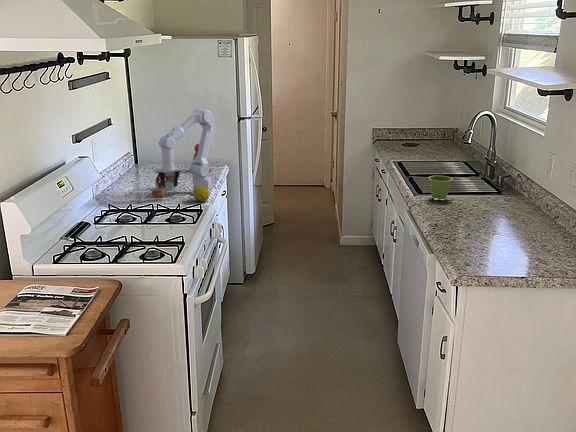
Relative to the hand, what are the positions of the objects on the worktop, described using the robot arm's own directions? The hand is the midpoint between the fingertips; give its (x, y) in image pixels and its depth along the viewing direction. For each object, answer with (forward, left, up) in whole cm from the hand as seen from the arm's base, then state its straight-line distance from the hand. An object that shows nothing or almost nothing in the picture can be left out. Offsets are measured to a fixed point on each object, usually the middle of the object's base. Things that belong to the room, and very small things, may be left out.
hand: (170, 186), depth 290 cm
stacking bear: (+5, -65, -7) cm, 66 cm away
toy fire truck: (+10, -21, -7) cm, 24 cm away
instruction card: (-3, -7, -7) cm, 10 cm away
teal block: (0, 0, -2) cm, 2 cm away
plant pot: (-136, -22, -7) cm, 138 cm away
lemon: (-17, +1, -7) cm, 18 cm away
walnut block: (+8, -5, -7) cm, 12 cm away
